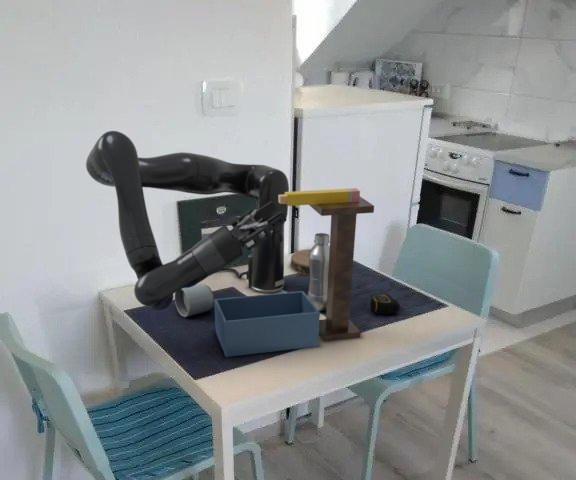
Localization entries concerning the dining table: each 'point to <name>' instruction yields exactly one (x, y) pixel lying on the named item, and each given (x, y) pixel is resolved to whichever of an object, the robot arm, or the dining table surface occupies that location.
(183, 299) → the ceramic mug
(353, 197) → the pencil
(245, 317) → the blue open rectangular box
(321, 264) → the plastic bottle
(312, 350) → the dining table surface
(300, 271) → the brown flat round disc
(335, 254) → the shelf stand
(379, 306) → the tape measure
